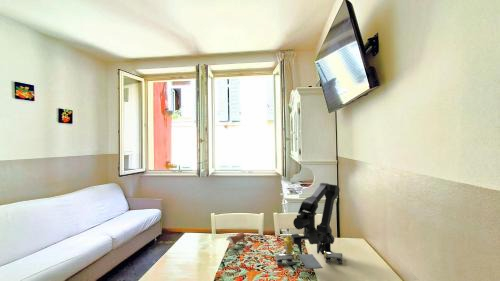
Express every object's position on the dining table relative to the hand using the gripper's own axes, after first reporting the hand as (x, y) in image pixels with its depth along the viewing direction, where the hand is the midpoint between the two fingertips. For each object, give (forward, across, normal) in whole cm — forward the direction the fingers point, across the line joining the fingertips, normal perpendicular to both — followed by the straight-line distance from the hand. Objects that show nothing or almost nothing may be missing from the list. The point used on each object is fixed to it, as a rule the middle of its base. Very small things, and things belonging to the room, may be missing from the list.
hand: (309, 254), depth 125 cm
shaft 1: (+4, -13, 0) cm, 14 cm away
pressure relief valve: (+4, -11, +8) cm, 14 cm away
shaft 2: (+4, +12, -2) cm, 13 cm away
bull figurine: (+4, -38, +23) cm, 45 cm away
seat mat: (+4, 0, 0) cm, 4 cm away
